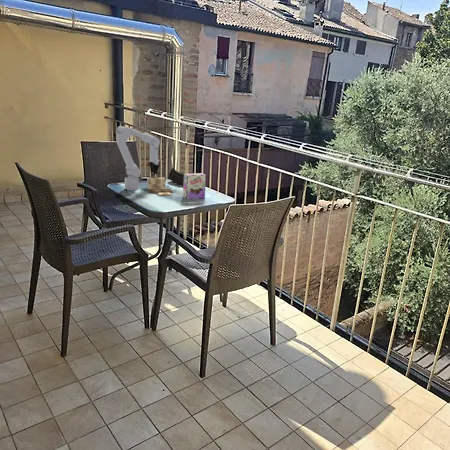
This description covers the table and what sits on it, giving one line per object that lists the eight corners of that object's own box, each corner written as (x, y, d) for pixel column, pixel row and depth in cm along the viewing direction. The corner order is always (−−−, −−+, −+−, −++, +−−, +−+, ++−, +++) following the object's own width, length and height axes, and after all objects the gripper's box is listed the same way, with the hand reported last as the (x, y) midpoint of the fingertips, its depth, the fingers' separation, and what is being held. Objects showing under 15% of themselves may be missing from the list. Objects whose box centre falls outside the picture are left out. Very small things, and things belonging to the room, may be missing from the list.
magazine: (195, 177, 299) (175, 159, 317) (192, 177, 297) (171, 159, 315) (191, 198, 307) (171, 179, 326) (187, 198, 305) (167, 179, 324)
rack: (150, 194, 278) (150, 190, 277) (148, 192, 283) (148, 189, 282) (173, 193, 285) (173, 190, 284) (170, 191, 289) (170, 188, 288)
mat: (147, 191, 286) (147, 190, 285) (144, 189, 292) (144, 188, 292) (169, 190, 292) (169, 190, 292) (166, 188, 299) (166, 187, 299)
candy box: (186, 199, 271) (186, 175, 266) (182, 197, 276) (183, 173, 271) (205, 198, 277) (206, 174, 272) (201, 196, 282) (202, 172, 277)
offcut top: (159, 195, 273) (159, 194, 272) (157, 194, 276) (157, 192, 276) (170, 195, 276) (170, 193, 276) (169, 194, 279) (169, 192, 279)
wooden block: (148, 189, 289) (148, 178, 286) (148, 189, 290) (148, 177, 288) (165, 189, 294) (165, 178, 291) (164, 188, 295) (164, 177, 293)
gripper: (162, 155, 288) (162, 174, 292) (156, 152, 301) (156, 171, 305) (152, 155, 285) (152, 175, 289) (147, 152, 298) (147, 171, 302)
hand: (153, 173), depth 297 cm, fingers open, 7 cm apart
